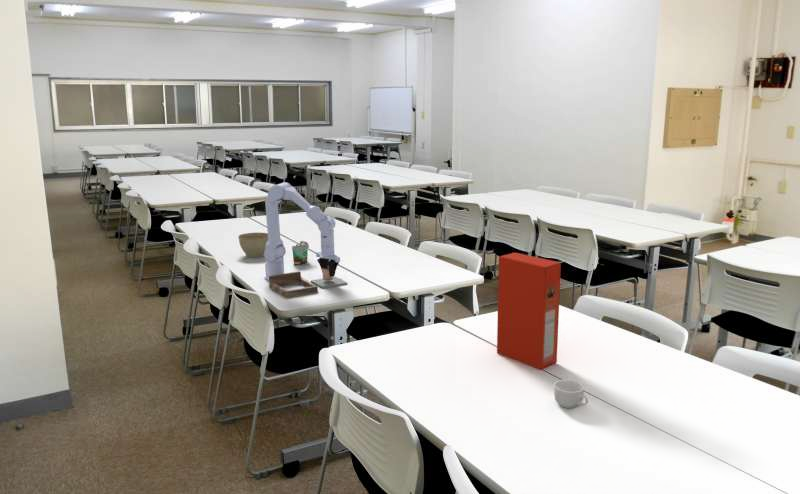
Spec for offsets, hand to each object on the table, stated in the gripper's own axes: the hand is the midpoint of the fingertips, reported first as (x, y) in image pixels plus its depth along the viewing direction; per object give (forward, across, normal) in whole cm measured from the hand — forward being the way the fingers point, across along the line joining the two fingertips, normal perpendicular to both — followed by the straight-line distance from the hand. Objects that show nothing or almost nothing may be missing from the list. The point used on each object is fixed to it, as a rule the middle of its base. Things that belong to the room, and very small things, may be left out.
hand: (328, 275), depth 283 cm
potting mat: (+4, 0, 0) cm, 4 cm away
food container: (+4, -37, +13) cm, 39 cm away
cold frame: (+4, -4, -17) cm, 17 cm away
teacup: (+4, +137, -27) cm, 140 cm away
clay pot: (+2, 0, 0) cm, 2 cm away
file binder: (+4, +110, -9) cm, 111 cm away
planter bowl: (+4, -68, +5) cm, 69 cm away
